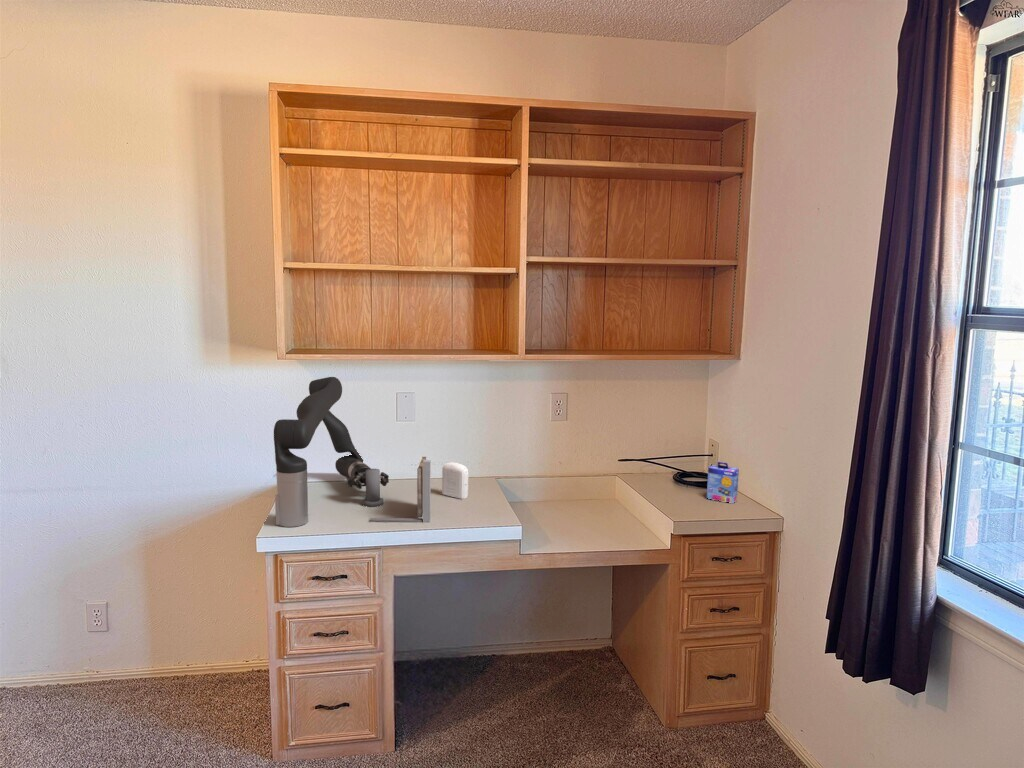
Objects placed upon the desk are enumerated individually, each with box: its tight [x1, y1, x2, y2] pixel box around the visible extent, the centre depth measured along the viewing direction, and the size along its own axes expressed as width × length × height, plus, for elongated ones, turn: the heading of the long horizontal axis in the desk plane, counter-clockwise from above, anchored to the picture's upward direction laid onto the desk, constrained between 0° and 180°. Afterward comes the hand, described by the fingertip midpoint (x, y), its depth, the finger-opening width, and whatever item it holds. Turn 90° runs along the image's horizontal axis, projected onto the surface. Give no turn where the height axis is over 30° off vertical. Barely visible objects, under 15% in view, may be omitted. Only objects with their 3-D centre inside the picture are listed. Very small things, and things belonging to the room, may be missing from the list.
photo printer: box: [441, 461, 469, 500], centre depth 253 cm, size 10×4×12 cm, turn 56°
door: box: [416, 456, 432, 518], centre depth 232 cm, size 17×3×16 cm, turn 2°
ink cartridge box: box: [706, 461, 740, 504], centre depth 254 cm, size 10×6×14 cm, turn 56°
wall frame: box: [369, 459, 432, 523], centre depth 224 cm, size 19×2×20 cm, turn 92°
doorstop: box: [362, 468, 384, 508], centre depth 242 cm, size 7×7×12 cm
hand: (372, 484), depth 242 cm, fingers open, 8 cm apart
